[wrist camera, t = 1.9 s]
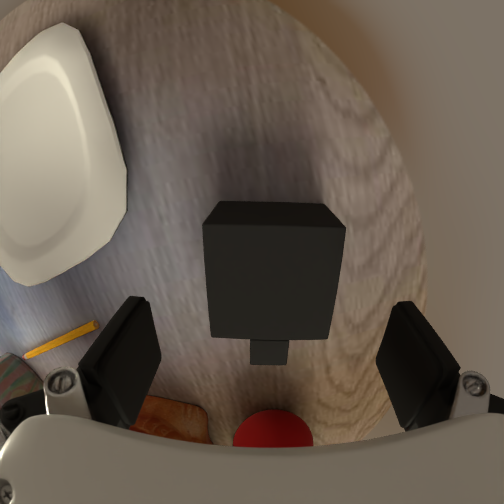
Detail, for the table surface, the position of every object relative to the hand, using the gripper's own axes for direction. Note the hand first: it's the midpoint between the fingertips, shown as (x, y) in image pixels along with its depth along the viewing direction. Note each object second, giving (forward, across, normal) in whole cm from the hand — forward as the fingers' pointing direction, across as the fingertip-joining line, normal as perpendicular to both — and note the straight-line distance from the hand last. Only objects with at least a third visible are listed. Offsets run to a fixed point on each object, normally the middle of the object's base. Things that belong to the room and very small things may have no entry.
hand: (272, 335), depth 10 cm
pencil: (+8, +22, +10) cm, 26 cm away
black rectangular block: (+7, 0, 0) cm, 7 cm away
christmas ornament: (+8, -1, +16) cm, 18 cm away
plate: (+7, +18, -8) cm, 21 cm away
